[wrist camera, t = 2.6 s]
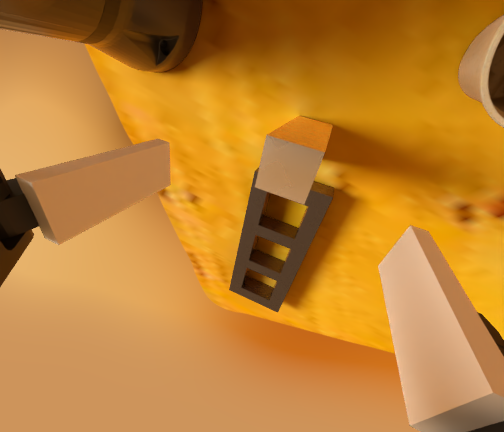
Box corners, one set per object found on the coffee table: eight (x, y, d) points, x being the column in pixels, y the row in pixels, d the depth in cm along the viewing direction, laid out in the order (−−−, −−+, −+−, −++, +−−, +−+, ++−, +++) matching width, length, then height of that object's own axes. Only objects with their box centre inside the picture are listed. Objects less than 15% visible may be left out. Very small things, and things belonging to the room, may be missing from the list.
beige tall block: (299, 115, 25) (266, 134, 14) (333, 124, 24) (325, 152, 13) (289, 149, 27) (254, 187, 16) (320, 158, 26) (304, 204, 16)
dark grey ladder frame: (262, 164, 29) (254, 170, 27) (334, 187, 27) (333, 197, 25) (235, 278, 43) (229, 289, 41) (281, 299, 41) (277, 312, 39)
